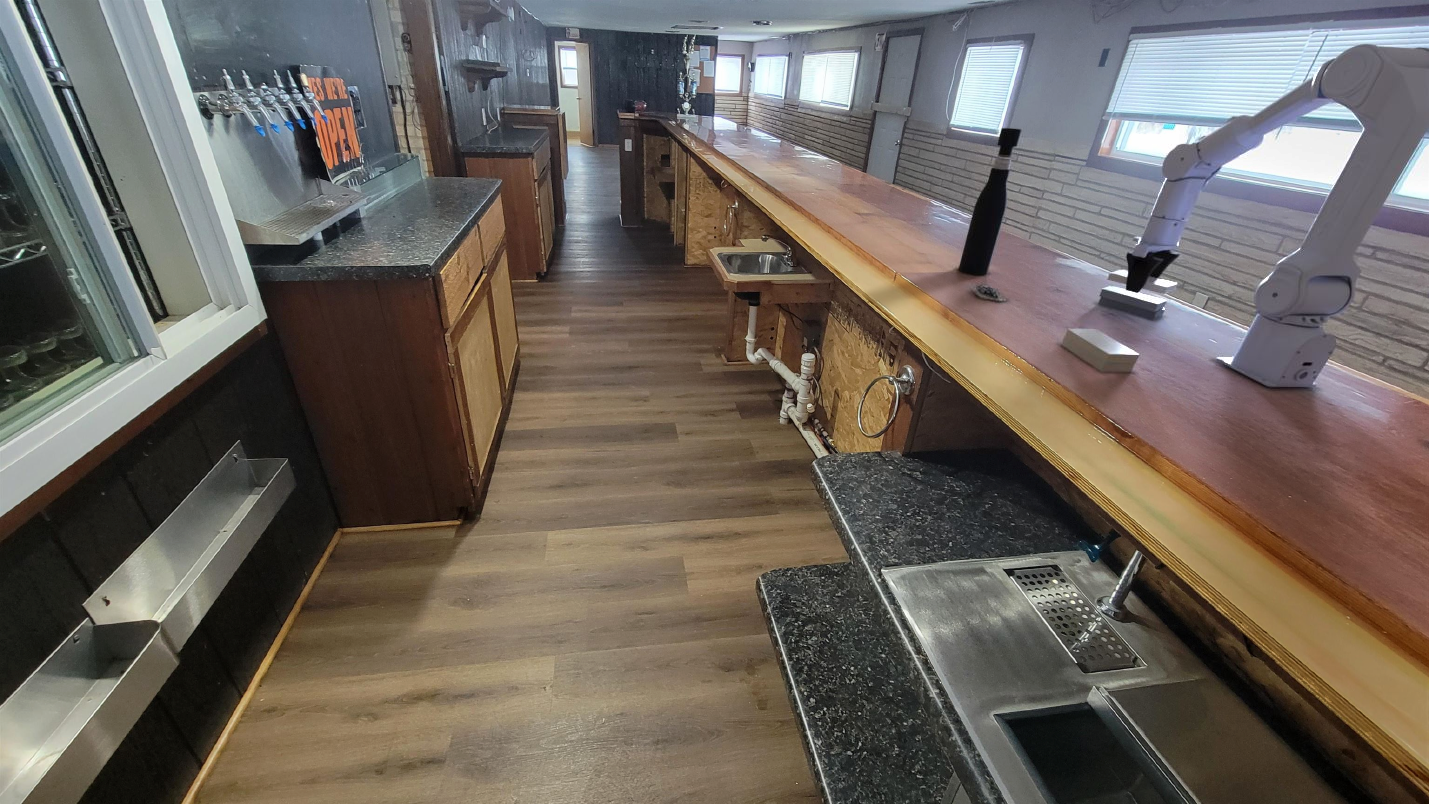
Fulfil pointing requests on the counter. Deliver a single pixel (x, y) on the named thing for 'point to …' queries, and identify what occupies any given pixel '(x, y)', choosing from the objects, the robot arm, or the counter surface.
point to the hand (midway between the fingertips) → (1138, 289)
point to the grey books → (1132, 302)
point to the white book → (1150, 284)
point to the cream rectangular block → (1099, 350)
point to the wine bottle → (989, 210)
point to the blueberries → (988, 293)
